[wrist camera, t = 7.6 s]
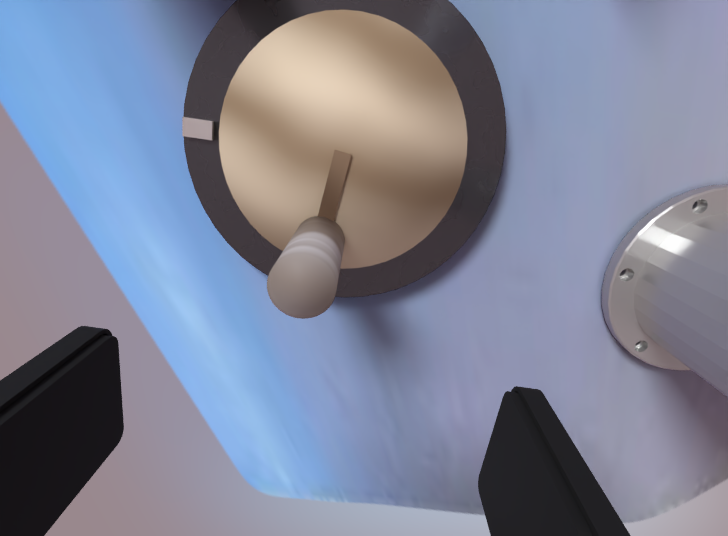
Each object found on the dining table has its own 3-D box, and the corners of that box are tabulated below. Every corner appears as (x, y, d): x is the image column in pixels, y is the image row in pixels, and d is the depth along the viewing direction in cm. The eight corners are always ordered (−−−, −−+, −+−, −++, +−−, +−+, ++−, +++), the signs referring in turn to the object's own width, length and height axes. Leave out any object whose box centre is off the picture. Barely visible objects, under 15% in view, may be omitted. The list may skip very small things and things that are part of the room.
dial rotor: (252, -19, 20) (178, -110, 12) (497, 62, 22) (575, 27, 14) (210, 227, 25) (135, 278, 17) (417, 284, 26) (440, 357, 18)
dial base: (534, -1, 22) (548, -11, 20) (460, 304, 28) (466, 316, 26) (194, -58, 21) (179, -73, 19) (193, 268, 27) (181, 278, 25)
